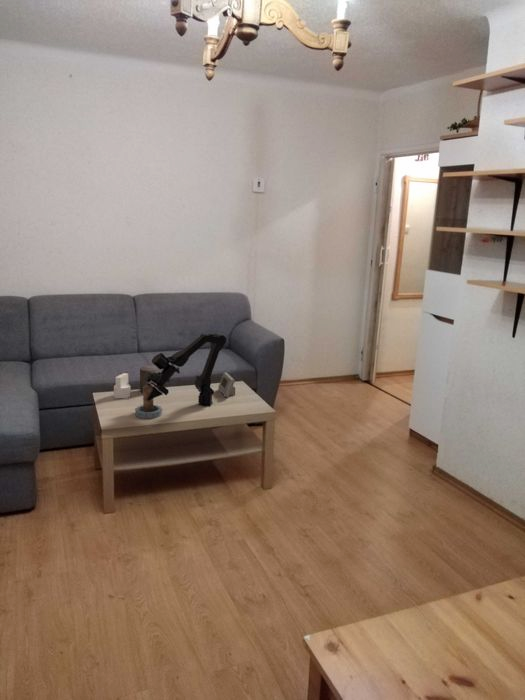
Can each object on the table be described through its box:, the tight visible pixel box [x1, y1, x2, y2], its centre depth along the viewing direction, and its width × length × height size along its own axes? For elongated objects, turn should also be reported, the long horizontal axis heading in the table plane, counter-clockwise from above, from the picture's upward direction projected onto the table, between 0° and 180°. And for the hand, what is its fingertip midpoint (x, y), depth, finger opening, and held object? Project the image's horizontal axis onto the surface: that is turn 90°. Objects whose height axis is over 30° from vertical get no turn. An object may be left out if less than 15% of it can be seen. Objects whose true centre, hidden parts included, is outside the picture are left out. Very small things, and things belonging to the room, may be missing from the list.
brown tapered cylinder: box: [142, 386, 154, 412], centre depth 279 cm, size 5×5×12 cm
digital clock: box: [218, 371, 236, 398], centre depth 316 cm, size 16×9×11 cm, turn 9°
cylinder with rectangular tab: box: [113, 372, 132, 399], centre depth 305 cm, size 9×9×12 cm
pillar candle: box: [139, 365, 158, 394], centre depth 315 cm, size 10×10×15 cm
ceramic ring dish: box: [134, 404, 163, 420], centre depth 281 cm, size 13×13×3 cm
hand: (145, 398), depth 278 cm, fingers closed on brown tapered cylinder, 5 cm apart
